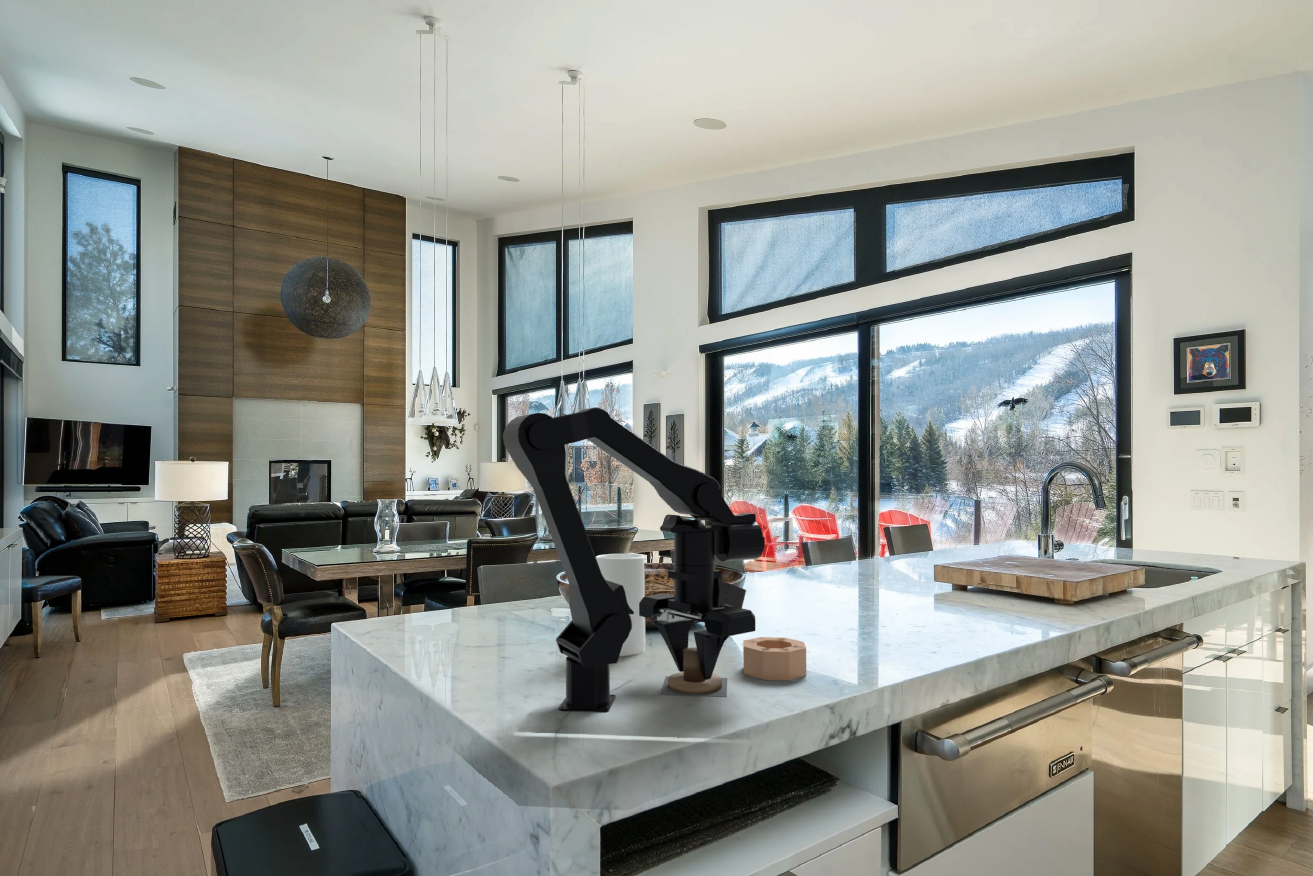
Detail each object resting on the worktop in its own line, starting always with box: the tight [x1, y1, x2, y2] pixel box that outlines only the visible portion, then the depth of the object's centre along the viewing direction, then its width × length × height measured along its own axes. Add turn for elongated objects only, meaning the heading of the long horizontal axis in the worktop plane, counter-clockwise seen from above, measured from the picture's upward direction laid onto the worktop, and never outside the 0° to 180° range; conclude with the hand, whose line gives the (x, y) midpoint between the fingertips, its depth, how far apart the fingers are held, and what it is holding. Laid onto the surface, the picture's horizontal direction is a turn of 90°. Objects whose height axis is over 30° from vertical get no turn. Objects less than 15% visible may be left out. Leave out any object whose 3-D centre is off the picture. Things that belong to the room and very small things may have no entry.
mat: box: [659, 675, 728, 698], centre depth 106 cm, size 9×9×1 cm
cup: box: [595, 553, 646, 657], centre depth 128 cm, size 8×8×16 cm
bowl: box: [742, 636, 807, 681], centre depth 114 cm, size 9×9×4 cm
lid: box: [668, 647, 723, 694], centre depth 106 cm, size 8×8×5 cm
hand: (694, 675), depth 106 cm, fingers open, 5 cm apart
